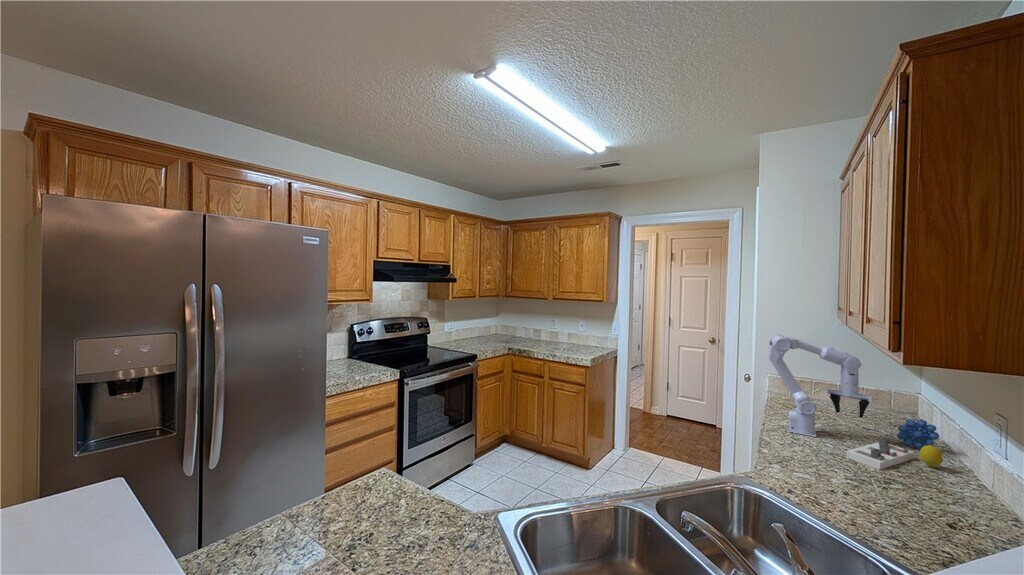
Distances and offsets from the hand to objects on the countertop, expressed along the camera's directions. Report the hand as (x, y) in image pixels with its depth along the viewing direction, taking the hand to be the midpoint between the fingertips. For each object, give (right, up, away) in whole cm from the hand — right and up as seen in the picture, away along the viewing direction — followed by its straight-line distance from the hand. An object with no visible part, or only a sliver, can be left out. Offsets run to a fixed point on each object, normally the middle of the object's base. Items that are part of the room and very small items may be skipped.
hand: (849, 414), depth 160 cm
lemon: (+7, -11, -25) cm, 28 cm away
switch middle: (-4, -8, -19) cm, 21 cm away
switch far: (+2, -8, -12) cm, 15 cm away
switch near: (-11, -8, -23) cm, 26 cm away
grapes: (+20, -11, -9) cm, 24 cm away
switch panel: (-4, -11, -17) cm, 21 cm away
